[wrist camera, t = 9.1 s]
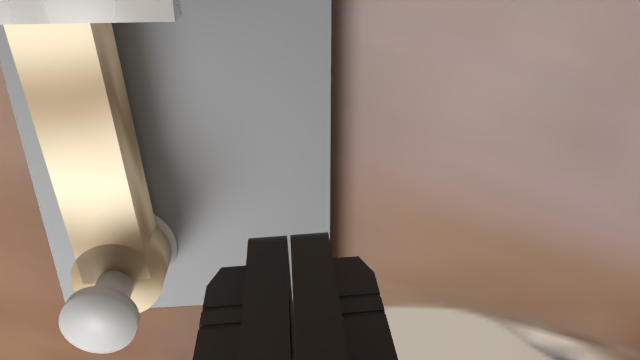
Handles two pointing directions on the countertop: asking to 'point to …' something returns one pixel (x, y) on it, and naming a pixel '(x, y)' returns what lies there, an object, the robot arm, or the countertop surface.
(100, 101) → the link
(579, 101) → the countertop surface
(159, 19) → the keeper
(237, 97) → the hinge plate
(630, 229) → the countertop surface
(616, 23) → the countertop surface
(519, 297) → the countertop surface
